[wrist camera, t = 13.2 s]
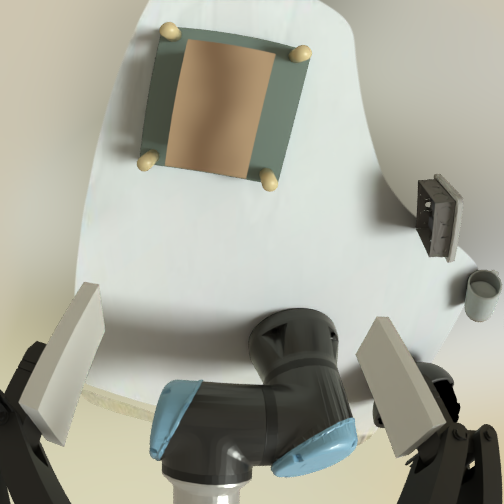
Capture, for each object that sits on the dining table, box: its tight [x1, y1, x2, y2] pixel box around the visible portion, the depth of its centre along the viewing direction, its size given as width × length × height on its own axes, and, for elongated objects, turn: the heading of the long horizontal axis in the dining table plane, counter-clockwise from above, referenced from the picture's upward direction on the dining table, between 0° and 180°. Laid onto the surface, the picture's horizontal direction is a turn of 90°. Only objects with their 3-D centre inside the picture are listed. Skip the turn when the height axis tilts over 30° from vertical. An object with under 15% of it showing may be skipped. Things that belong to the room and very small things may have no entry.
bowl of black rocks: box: [373, 362, 460, 428], centre depth 51 cm, size 20×20×19 cm
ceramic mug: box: [465, 270, 502, 322], centre depth 43 cm, size 11×8×8 cm
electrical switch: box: [416, 174, 463, 263], centre depth 34 cm, size 9×5×9 cm, turn 11°
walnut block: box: [165, 39, 276, 179], centre depth 25 cm, size 7×11×8 cm, turn 168°
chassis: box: [137, 22, 312, 192], centre depth 27 cm, size 16×16×5 cm
